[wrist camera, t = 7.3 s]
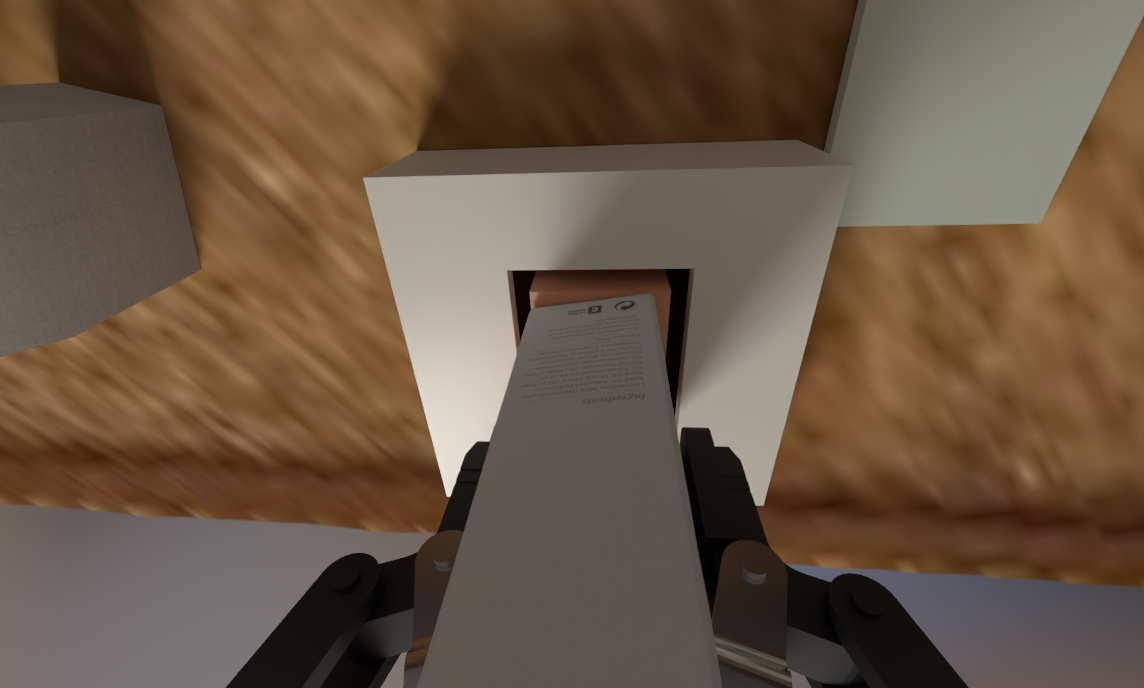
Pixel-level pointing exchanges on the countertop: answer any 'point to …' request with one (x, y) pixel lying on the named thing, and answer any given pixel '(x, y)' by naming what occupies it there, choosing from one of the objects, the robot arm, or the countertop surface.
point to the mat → (970, 105)
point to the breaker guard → (613, 241)
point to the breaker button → (602, 289)
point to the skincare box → (580, 522)
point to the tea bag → (84, 211)
